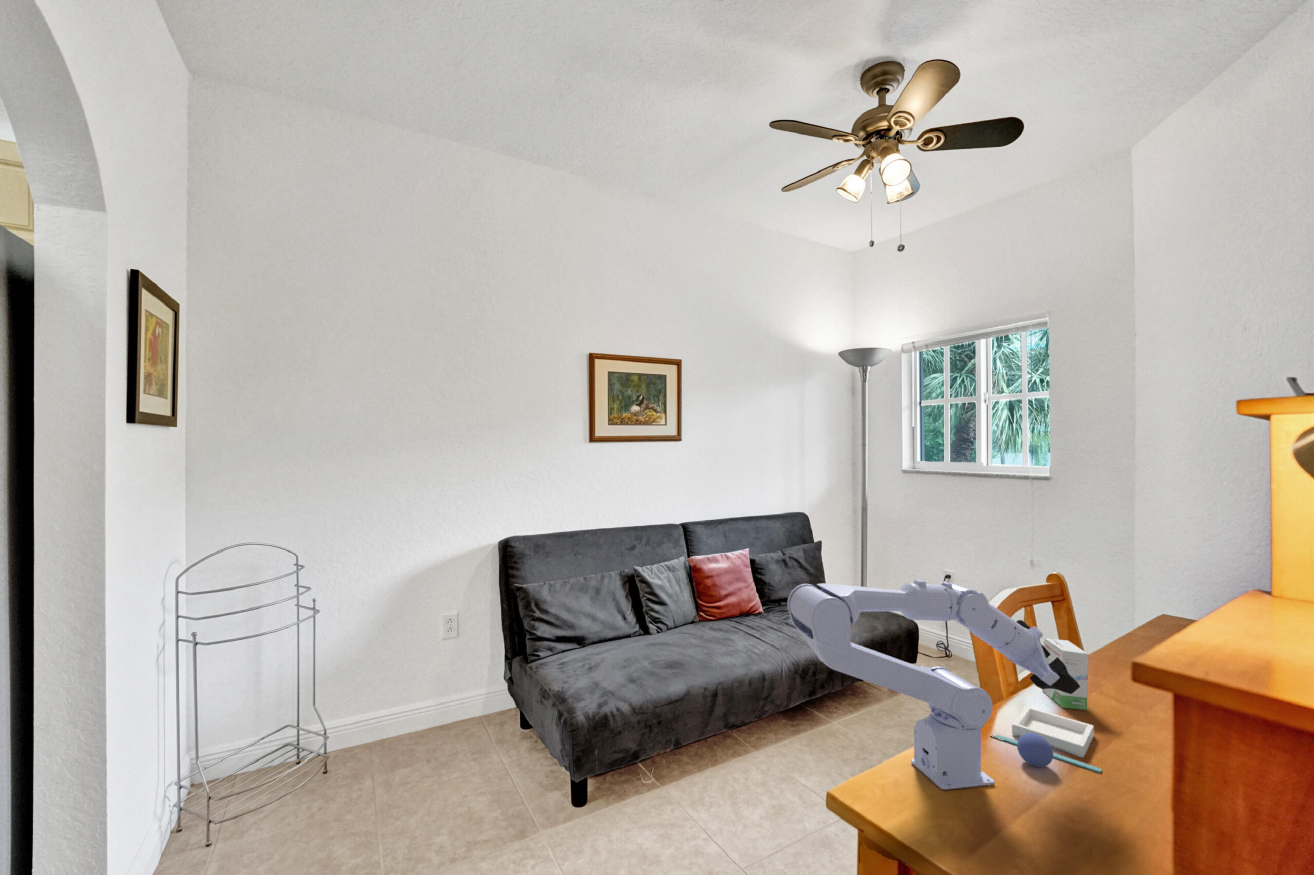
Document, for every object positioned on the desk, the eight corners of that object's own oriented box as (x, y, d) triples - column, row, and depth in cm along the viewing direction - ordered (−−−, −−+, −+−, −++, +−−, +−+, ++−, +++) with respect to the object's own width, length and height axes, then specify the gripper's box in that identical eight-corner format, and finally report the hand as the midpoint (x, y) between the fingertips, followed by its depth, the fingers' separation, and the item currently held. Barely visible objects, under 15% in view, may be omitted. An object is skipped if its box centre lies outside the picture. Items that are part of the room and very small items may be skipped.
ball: (1034, 775, 90) (1034, 744, 90) (1010, 758, 95) (1009, 728, 95) (1061, 772, 90) (1060, 741, 91) (1035, 755, 95) (1034, 726, 96)
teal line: (990, 736, 102) (990, 734, 102) (992, 734, 102) (992, 732, 102) (1100, 773, 90) (1100, 771, 90) (1101, 770, 91) (1101, 768, 91)
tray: (1083, 758, 95) (1083, 746, 95) (1012, 735, 102) (1012, 724, 102) (1093, 736, 102) (1093, 725, 102) (1026, 716, 110) (1026, 706, 110)
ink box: (1041, 691, 122) (1041, 637, 122) (1067, 693, 121) (1067, 638, 121) (1061, 708, 113) (1061, 650, 113) (1090, 711, 112) (1089, 652, 112)
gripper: (1045, 644, 84) (1108, 688, 86) (994, 590, 98) (1050, 629, 100) (1011, 674, 86) (1073, 717, 88) (966, 617, 100) (1021, 655, 101)
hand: (1059, 672), depth 94 cm, fingers open, 7 cm apart
